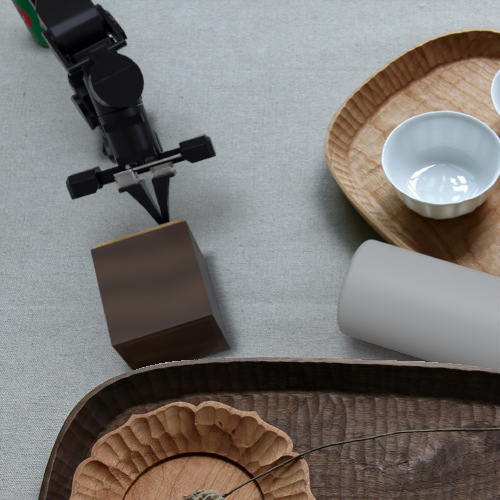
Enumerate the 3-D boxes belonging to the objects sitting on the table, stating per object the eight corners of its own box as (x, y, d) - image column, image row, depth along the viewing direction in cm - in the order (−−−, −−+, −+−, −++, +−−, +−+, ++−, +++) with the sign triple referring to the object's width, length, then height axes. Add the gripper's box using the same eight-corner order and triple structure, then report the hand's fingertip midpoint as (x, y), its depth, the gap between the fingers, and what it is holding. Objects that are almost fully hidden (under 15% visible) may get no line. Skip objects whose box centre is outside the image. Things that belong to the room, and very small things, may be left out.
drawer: (116, 269, 112) (94, 236, 105) (195, 244, 113) (179, 211, 106) (137, 359, 107) (115, 331, 99) (221, 332, 108) (205, 303, 100)
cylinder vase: (341, 349, 107) (523, 407, 102) (328, 303, 95) (533, 367, 91) (375, 271, 111) (552, 324, 107) (367, 218, 99) (565, 275, 95)
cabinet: (117, 287, 112) (90, 249, 103) (205, 260, 113) (185, 220, 104) (138, 378, 106) (111, 345, 98) (231, 348, 108) (212, 313, 99)
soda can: (59, 50, 130) (24, -14, 118) (30, 46, 130) (-8, -18, 119) (70, 27, 131) (36, -39, 120) (41, 23, 132) (5, -42, 121)
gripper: (195, 89, 109) (235, 202, 115) (59, 130, 108) (107, 242, 114) (192, 88, 99) (235, 212, 105) (42, 133, 98) (95, 256, 104)
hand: (167, 231), depth 107 cm, fingers closed, pressing on drawer
